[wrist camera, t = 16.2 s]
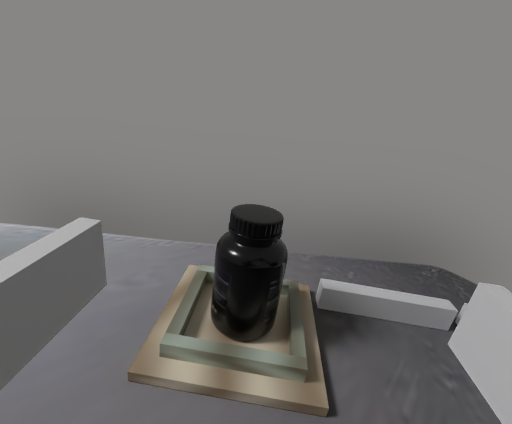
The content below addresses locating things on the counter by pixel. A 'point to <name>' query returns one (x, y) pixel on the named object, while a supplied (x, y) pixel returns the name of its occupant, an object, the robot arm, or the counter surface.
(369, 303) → the bracket
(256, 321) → the supplement bottle
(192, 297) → the seating station
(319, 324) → the counter surface
